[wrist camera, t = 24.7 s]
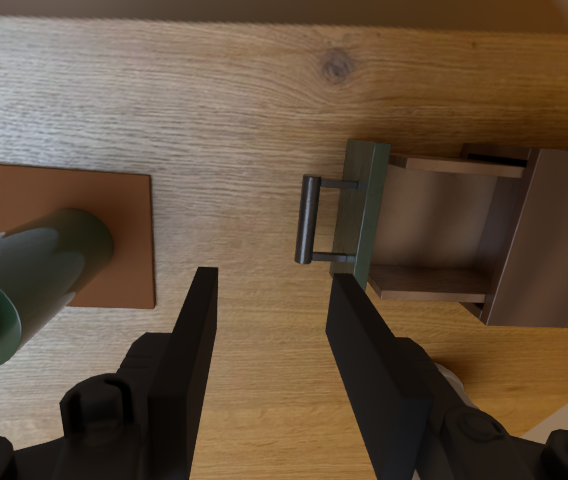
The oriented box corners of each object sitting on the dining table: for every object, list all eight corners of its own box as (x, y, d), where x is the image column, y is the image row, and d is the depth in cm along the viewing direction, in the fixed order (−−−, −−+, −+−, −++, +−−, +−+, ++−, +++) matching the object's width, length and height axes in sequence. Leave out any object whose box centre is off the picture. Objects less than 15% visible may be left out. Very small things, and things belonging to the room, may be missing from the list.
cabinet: (431, 279, 35) (486, 325, 27) (464, 142, 31) (541, 147, 23) (567, 285, 37) (658, 331, 29) (616, 156, 33) (740, 166, 24)
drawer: (286, 270, 32) (294, 307, 26) (299, 134, 29) (313, 136, 22) (468, 279, 34) (518, 314, 28) (503, 152, 31) (571, 159, 24)
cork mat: (-11, 163, 28) (-16, 164, 28) (150, 175, 30) (148, 176, 29) (14, 302, 32) (10, 304, 32) (155, 306, 34) (153, 309, 33)
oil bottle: (38, 199, 29) (-280, 306, 12) (118, 217, 30) (-65, 338, 13) (34, 268, 31) (-243, 448, 14) (110, 283, 32) (-59, 466, 15)
